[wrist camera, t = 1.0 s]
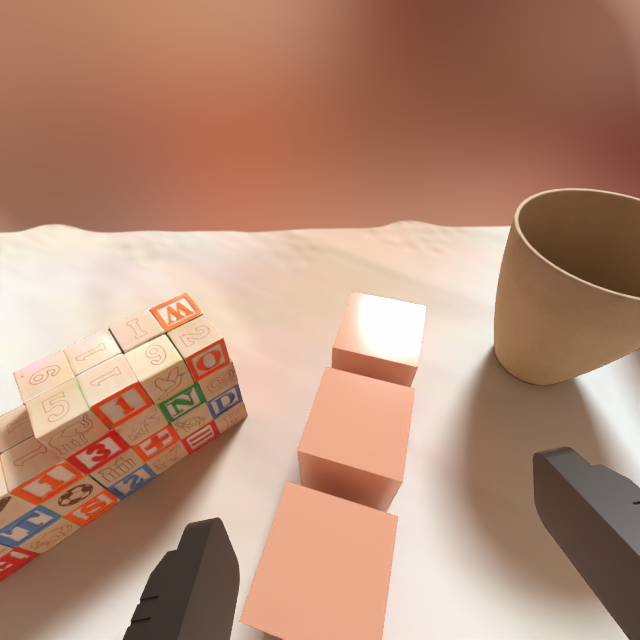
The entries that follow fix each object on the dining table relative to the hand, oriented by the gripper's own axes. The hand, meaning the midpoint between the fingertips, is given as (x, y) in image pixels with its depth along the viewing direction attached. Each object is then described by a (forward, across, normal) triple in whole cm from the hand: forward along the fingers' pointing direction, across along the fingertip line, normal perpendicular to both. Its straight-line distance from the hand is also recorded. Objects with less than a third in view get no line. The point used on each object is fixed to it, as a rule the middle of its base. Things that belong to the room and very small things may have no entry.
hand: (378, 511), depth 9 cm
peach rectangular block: (+24, -2, +12) cm, 27 cm away
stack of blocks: (+20, +21, +10) cm, 30 cm away
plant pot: (+28, -20, +13) cm, 37 cm away
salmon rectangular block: (+18, +2, +15) cm, 23 cm away
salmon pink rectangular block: (+11, +5, +18) cm, 22 cm away
